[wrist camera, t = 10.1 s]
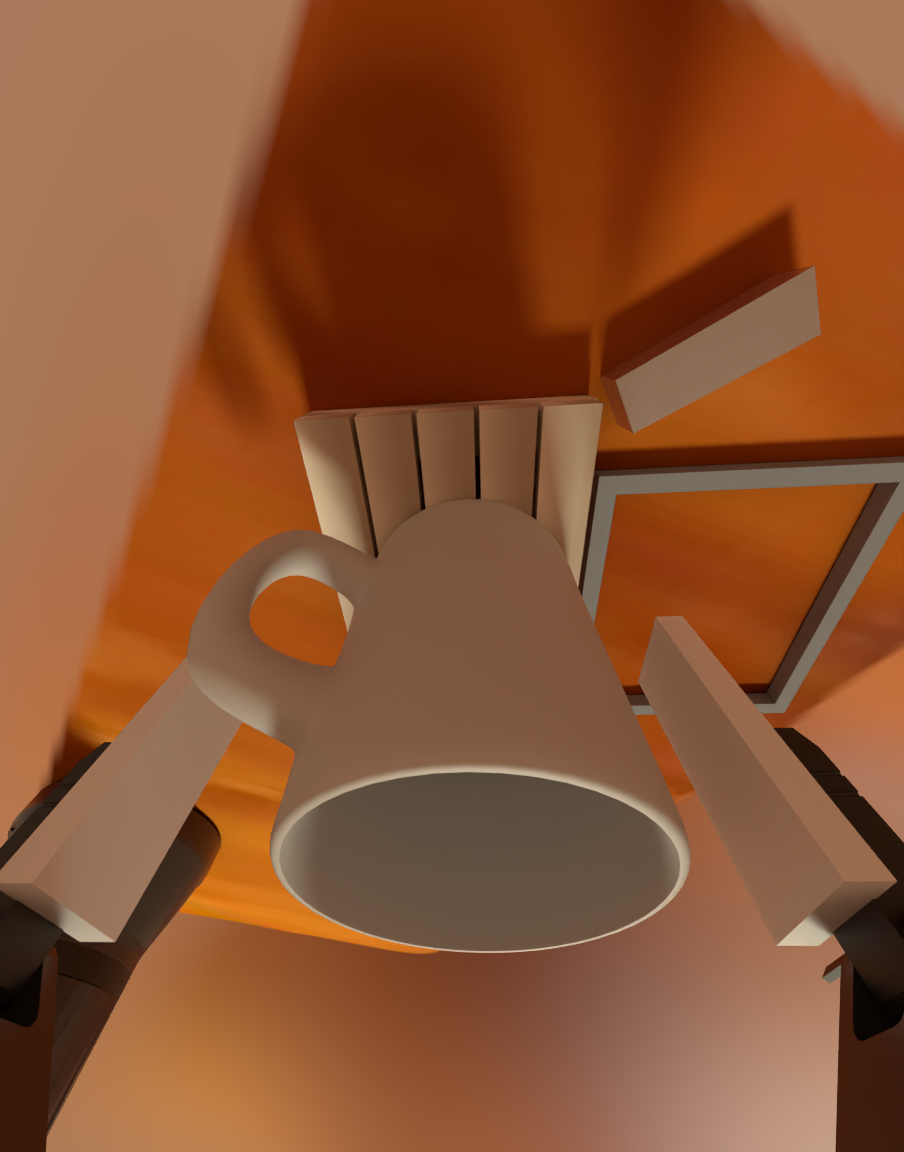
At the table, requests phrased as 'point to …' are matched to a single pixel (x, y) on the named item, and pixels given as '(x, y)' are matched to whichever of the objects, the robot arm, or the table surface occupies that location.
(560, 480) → the rack
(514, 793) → the mug
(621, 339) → the table surface
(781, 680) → the socket frame
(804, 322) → the grey rectangular bar
